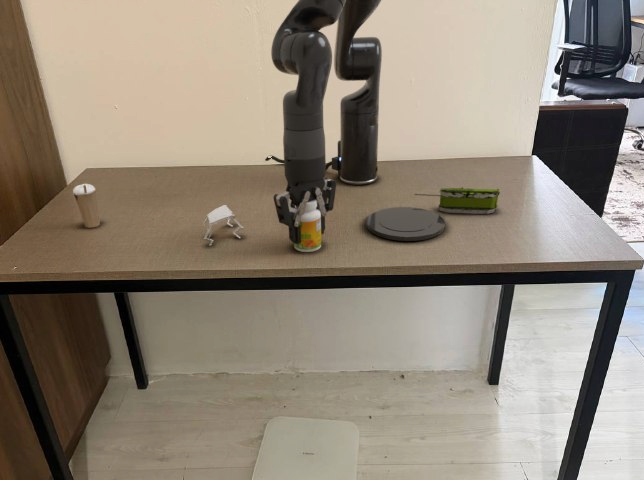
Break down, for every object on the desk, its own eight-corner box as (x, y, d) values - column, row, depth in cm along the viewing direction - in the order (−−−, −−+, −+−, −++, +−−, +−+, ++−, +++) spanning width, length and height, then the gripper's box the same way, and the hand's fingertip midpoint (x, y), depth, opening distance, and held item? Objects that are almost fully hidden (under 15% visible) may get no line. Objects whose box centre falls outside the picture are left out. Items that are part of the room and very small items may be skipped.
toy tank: (502, 195, 117) (499, 171, 124) (409, 192, 121) (412, 169, 128) (497, 224, 122) (495, 198, 129) (408, 220, 126) (410, 196, 133)
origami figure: (244, 245, 114) (242, 222, 111) (202, 247, 113) (199, 224, 111) (245, 221, 124) (243, 200, 121) (207, 224, 124) (204, 202, 121)
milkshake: (84, 232, 122) (72, 187, 117) (80, 223, 126) (69, 180, 121) (105, 227, 124) (95, 183, 119) (101, 219, 128) (91, 176, 123)
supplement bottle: (289, 250, 111) (287, 203, 106) (300, 239, 115) (298, 193, 110) (315, 254, 109) (314, 206, 104) (325, 243, 113) (324, 196, 108)
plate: (369, 243, 112) (369, 237, 112) (363, 213, 126) (364, 207, 125) (451, 241, 112) (452, 235, 111) (436, 211, 125) (437, 205, 125)
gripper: (319, 140, 109) (321, 222, 117) (260, 156, 101) (266, 243, 109) (347, 147, 104) (347, 232, 112) (287, 164, 96) (291, 255, 104)
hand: (307, 237), depth 111 cm, fingers closed on supplement bottle, 5 cm apart
